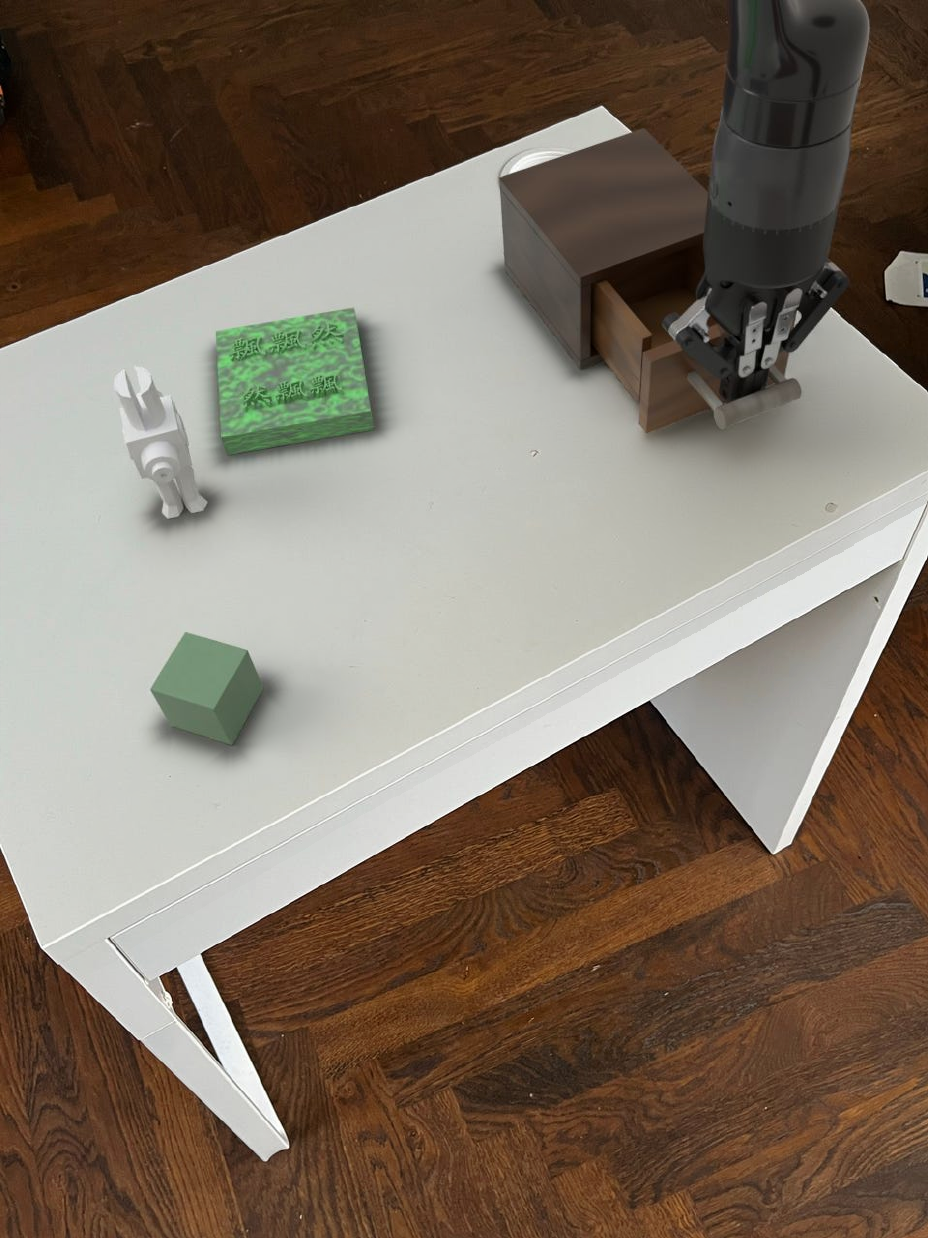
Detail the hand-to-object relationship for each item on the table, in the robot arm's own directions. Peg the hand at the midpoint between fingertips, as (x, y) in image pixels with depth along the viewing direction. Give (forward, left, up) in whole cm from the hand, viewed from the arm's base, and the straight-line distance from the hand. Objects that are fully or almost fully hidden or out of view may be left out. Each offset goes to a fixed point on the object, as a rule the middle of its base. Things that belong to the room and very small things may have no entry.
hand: (740, 402), depth 80 cm
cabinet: (+13, -13, -4) cm, 19 cm away
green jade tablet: (+34, +4, -4) cm, 34 cm away
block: (+26, +32, -4) cm, 41 cm away
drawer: (+5, -5, -3) cm, 7 cm away
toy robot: (+37, +17, -4) cm, 41 cm away
